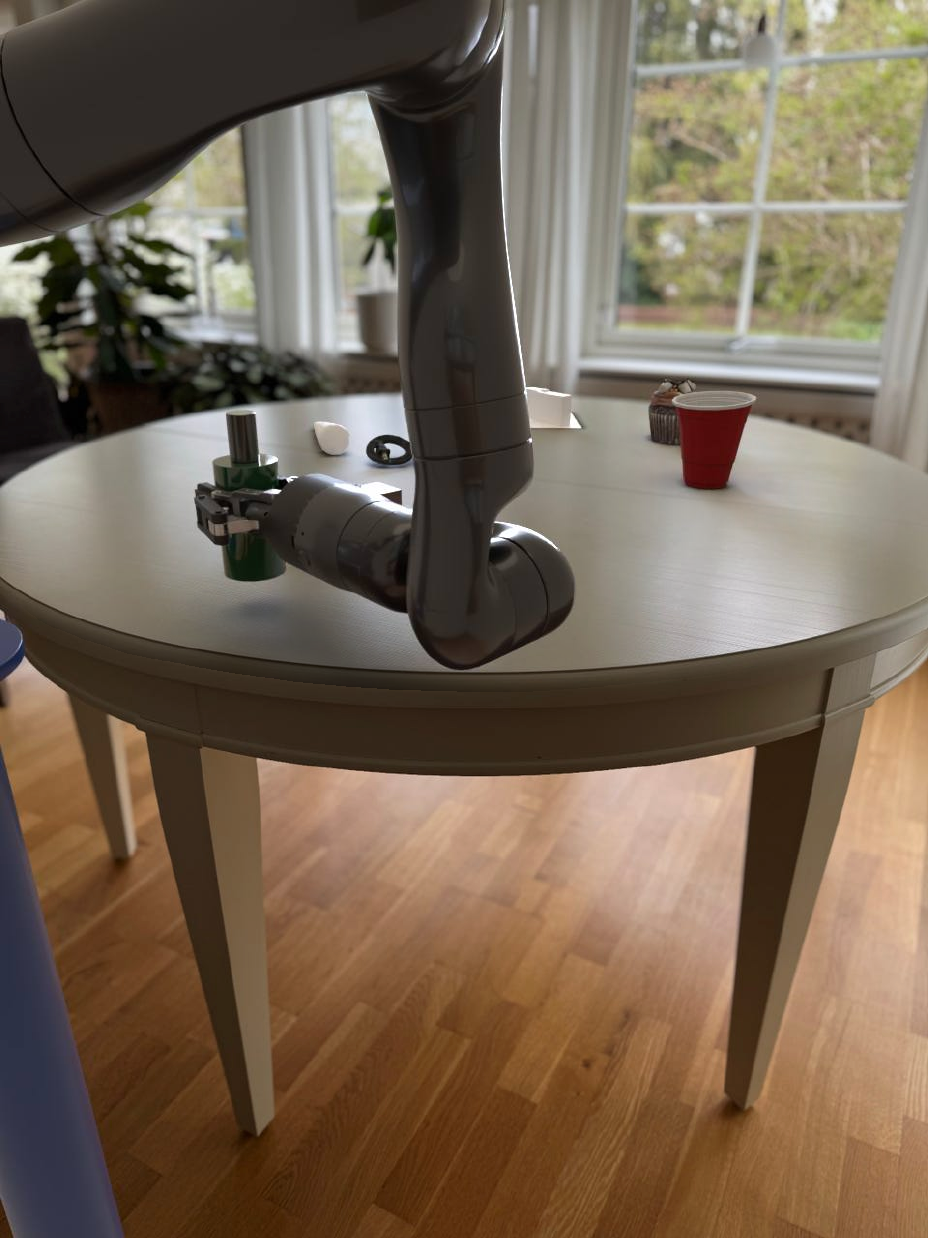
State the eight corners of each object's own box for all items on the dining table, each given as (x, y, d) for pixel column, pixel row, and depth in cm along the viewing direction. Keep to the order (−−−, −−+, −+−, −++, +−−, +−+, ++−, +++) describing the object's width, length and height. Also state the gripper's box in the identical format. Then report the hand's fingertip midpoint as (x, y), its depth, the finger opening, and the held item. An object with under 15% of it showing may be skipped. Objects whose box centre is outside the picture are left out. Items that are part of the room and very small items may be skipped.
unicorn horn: (336, 425, 154) (335, 398, 152) (351, 455, 133) (349, 424, 131) (310, 426, 153) (308, 399, 151) (320, 457, 132) (318, 426, 130)
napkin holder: (582, 428, 153) (584, 395, 151) (519, 428, 153) (520, 395, 151) (571, 412, 167) (573, 382, 165) (513, 412, 167) (514, 382, 165)
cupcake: (648, 444, 141) (653, 382, 137) (643, 432, 150) (649, 374, 146) (707, 446, 140) (715, 383, 136) (699, 434, 149) (706, 375, 145)
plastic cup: (651, 475, 122) (659, 390, 117) (720, 472, 124) (731, 387, 119) (684, 496, 112) (694, 403, 108) (759, 492, 115) (772, 400, 110)
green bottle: (242, 586, 73) (225, 420, 67) (213, 569, 77) (195, 411, 71) (297, 572, 76) (286, 413, 71) (267, 557, 80) (253, 404, 74)
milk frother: (495, 467, 127) (497, 363, 121) (400, 481, 119) (397, 371, 113) (446, 448, 138) (445, 353, 132) (357, 460, 130) (352, 359, 124)
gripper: (416, 469, 67) (301, 435, 78) (250, 502, 58) (148, 458, 69) (417, 560, 70) (306, 514, 81) (259, 604, 61) (160, 545, 72)
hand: (234, 488), depth 75 cm, fingers closed on green bottle, 5 cm apart
